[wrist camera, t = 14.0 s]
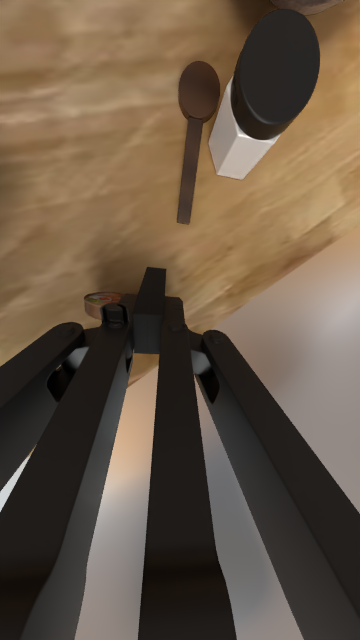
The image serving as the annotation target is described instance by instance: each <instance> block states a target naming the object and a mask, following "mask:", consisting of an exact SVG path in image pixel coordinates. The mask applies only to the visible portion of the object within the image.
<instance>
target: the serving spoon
mask: <svg viewBox="0 0 360 640" xmlns="http://www.w3.org/2000/svg"><path fill="white" fill-rule="evenodd" d="M219 96H220V83H219V79H218V76H217V74H216V72H215V70H214V69H213V68H212V67H211V66H210V65H209V64H208V63H206V62H203V61H196V62H193V63H191V64H189V65H188V66H187V67H186V68H185V70H184V71H183V73H182V75H181V78H180V82H179V94H178V99H179V105H180V108H181V111H182V113H183V115H184V116H185V117H186V118H187V119H188V128H187V137H186V146H185V155H184V164H183V173H182V181H181V190H180V199H179V208H178V217H177V223H182V224H188V225H189V223H190V216H191V209H192V201H193V193H194V186H195V178H196V171H197V163H198V156H199V148H200V141H201V133H202V125H203V123H204V122H206V121H208V120H209V119H210V118H211V117H212V116H213V114H214V112H215V110H216V107H217V104H218V101H219Z"/></svg>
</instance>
